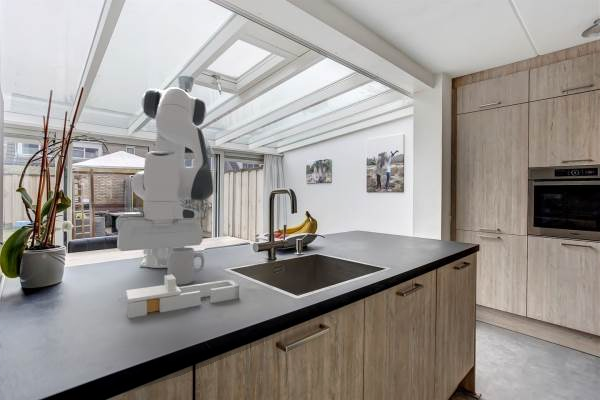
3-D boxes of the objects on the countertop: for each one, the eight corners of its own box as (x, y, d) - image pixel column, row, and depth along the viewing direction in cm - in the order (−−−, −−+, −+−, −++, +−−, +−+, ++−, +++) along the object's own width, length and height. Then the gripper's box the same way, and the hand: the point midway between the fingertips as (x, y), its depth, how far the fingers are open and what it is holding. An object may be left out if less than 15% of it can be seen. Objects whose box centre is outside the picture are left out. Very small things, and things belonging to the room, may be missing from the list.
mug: (169, 286, 98) (169, 252, 98) (165, 280, 106) (165, 248, 105) (207, 281, 104) (207, 249, 104) (201, 275, 112) (201, 245, 111)
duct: (126, 308, 79) (126, 294, 79) (230, 291, 94) (230, 279, 94) (128, 318, 73) (128, 303, 73) (239, 298, 88) (239, 285, 88)
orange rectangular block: (133, 310, 78) (133, 299, 78) (171, 304, 83) (171, 293, 83) (134, 314, 75) (134, 302, 75) (173, 307, 80) (173, 296, 80)
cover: (126, 293, 79) (126, 278, 79) (175, 286, 86) (175, 272, 86) (128, 302, 73) (128, 286, 73) (181, 294, 79) (181, 279, 79)
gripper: (116, 213, 71) (116, 272, 72) (204, 212, 83) (204, 262, 83) (115, 212, 77) (115, 267, 77) (197, 210, 88) (197, 258, 88)
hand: (162, 264), depth 80 cm, fingers closed
